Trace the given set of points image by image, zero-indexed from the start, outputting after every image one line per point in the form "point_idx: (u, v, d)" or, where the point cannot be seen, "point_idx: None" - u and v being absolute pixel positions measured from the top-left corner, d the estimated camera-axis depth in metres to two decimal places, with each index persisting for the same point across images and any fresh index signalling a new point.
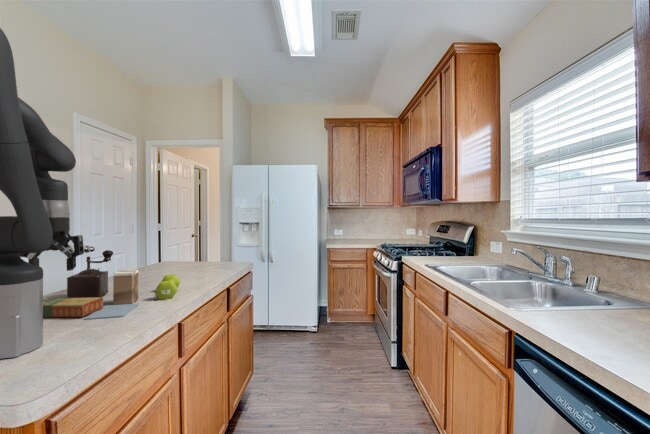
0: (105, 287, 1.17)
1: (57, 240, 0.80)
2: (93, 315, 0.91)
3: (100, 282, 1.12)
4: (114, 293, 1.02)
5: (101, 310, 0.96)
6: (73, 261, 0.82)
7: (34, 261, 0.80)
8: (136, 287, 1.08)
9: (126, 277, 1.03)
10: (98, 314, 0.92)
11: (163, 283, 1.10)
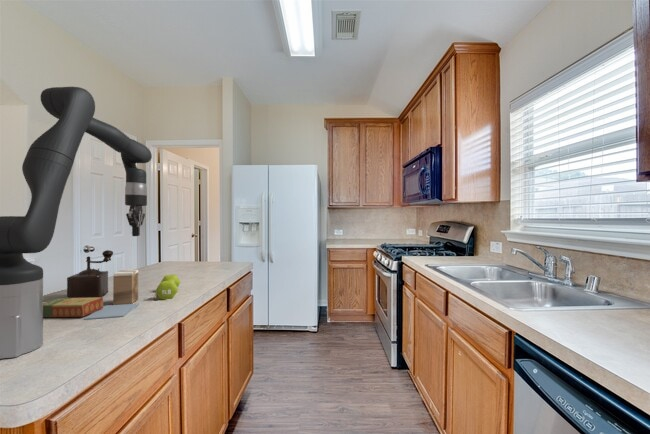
0: (105, 287, 1.17)
1: None
2: (93, 315, 0.91)
3: (100, 282, 1.12)
4: (114, 293, 1.02)
5: (101, 310, 0.96)
6: None
7: None
8: (136, 287, 1.08)
9: (126, 277, 1.03)
10: (98, 314, 0.92)
11: (164, 283, 1.10)
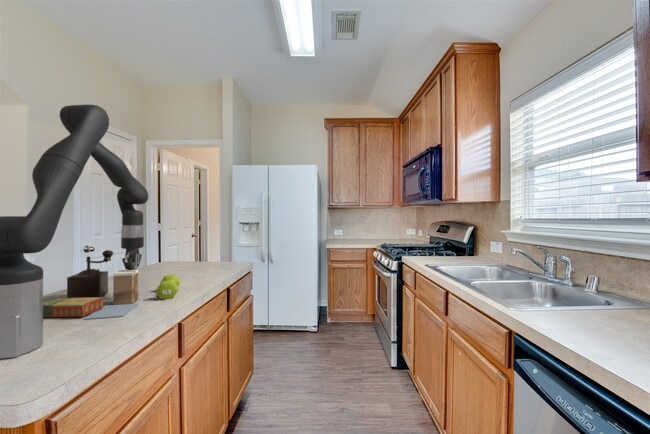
0: (105, 287, 1.17)
1: None
2: (93, 315, 0.91)
3: (100, 282, 1.12)
4: (114, 293, 1.02)
5: (101, 310, 0.96)
6: None
7: None
8: (136, 287, 1.08)
9: (126, 277, 1.03)
10: (98, 314, 0.92)
11: (164, 283, 1.10)
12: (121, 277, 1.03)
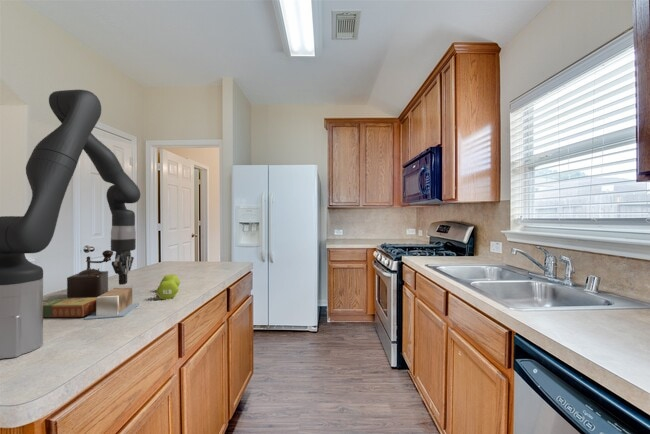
0: (105, 287, 1.17)
1: None
2: (93, 315, 0.91)
3: (100, 282, 1.12)
4: None
5: None
6: None
7: None
8: (126, 296, 0.99)
9: None
10: None
11: (164, 283, 1.10)
12: None
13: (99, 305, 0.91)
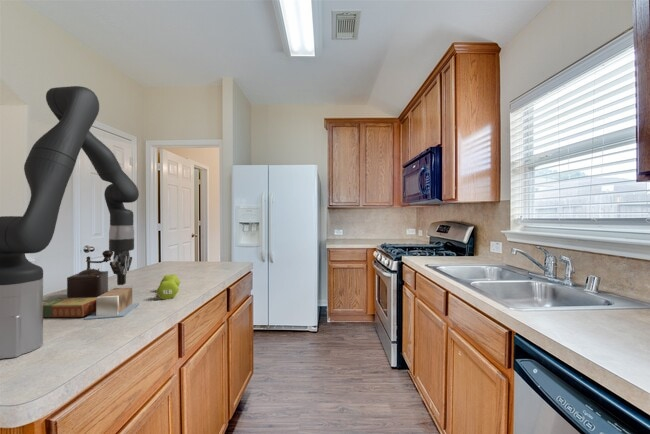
0: (105, 287, 1.17)
1: None
2: (93, 315, 0.91)
3: (100, 282, 1.12)
4: None
5: None
6: None
7: None
8: (126, 296, 0.99)
9: None
10: None
11: (165, 283, 1.10)
12: None
13: (99, 305, 0.91)
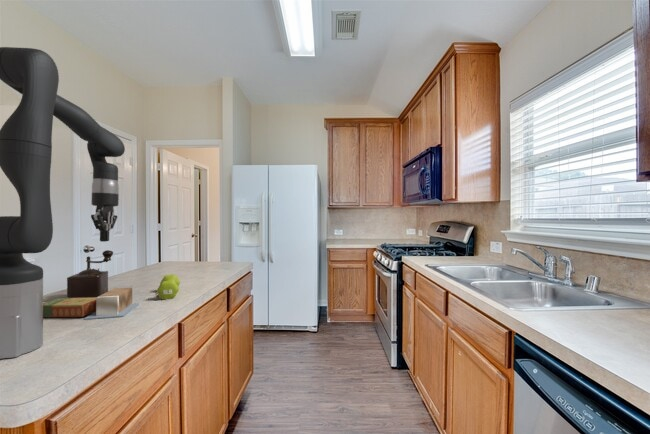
0: (105, 287, 1.17)
1: None
2: (93, 315, 0.91)
3: (100, 282, 1.12)
4: None
5: None
6: None
7: None
8: (126, 296, 0.99)
9: None
10: None
11: (165, 283, 1.10)
12: None
13: (99, 305, 0.91)
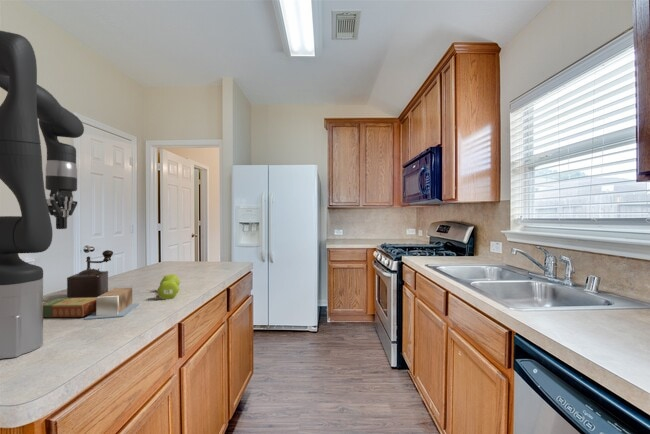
0: (105, 287, 1.17)
1: None
2: (93, 315, 0.91)
3: (100, 282, 1.12)
4: None
5: None
6: None
7: None
8: (126, 296, 0.99)
9: None
10: None
11: (165, 283, 1.10)
12: None
13: (99, 305, 0.91)
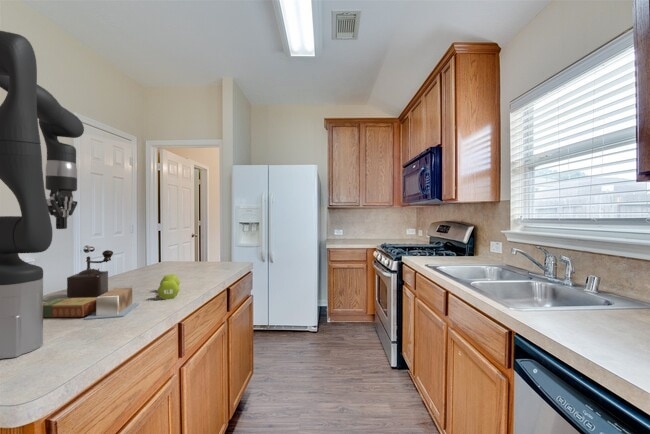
0: (105, 287, 1.17)
1: None
2: (93, 315, 0.91)
3: (100, 282, 1.12)
4: None
5: None
6: None
7: None
8: (126, 296, 0.99)
9: None
10: None
11: (165, 283, 1.10)
12: None
13: (99, 305, 0.91)
